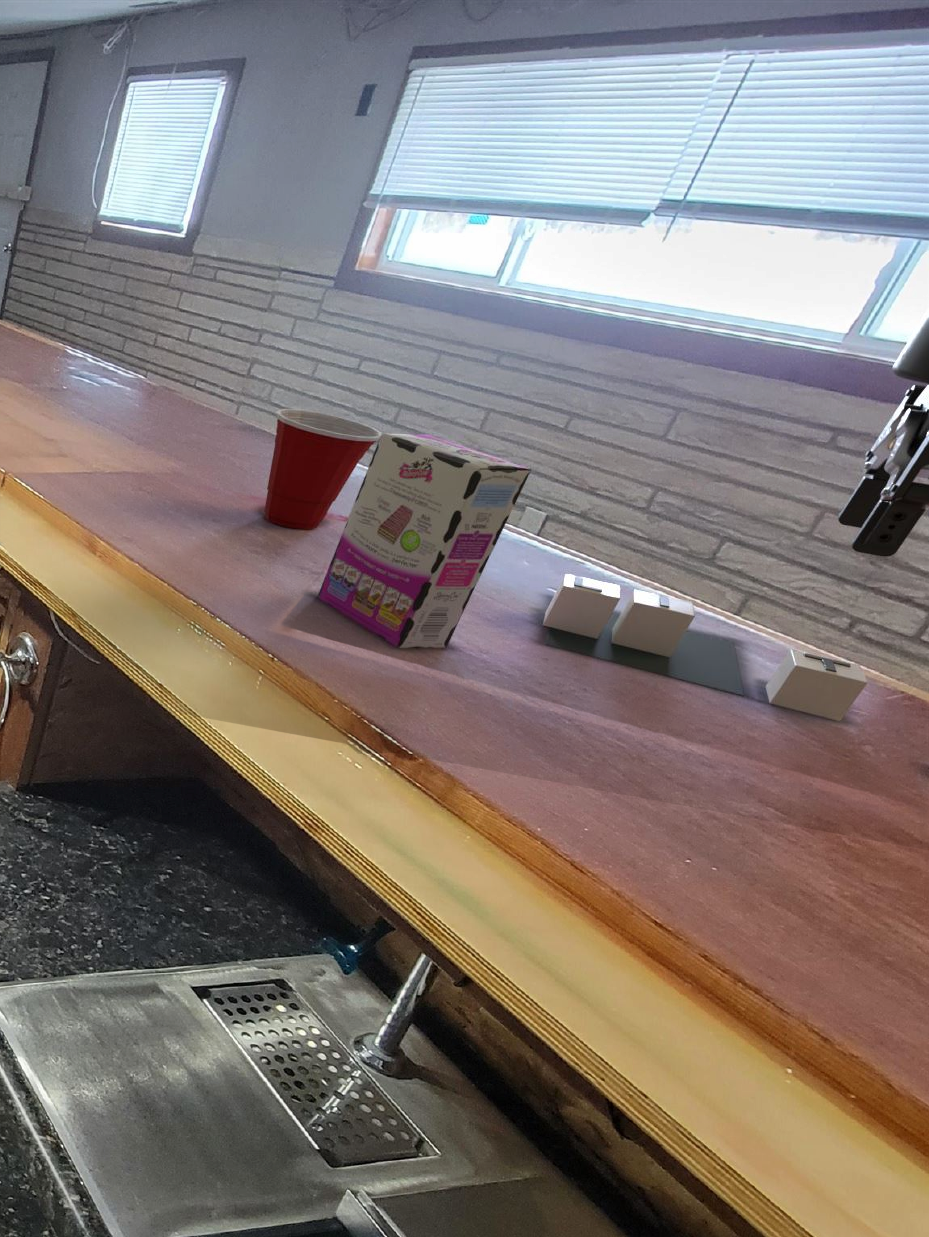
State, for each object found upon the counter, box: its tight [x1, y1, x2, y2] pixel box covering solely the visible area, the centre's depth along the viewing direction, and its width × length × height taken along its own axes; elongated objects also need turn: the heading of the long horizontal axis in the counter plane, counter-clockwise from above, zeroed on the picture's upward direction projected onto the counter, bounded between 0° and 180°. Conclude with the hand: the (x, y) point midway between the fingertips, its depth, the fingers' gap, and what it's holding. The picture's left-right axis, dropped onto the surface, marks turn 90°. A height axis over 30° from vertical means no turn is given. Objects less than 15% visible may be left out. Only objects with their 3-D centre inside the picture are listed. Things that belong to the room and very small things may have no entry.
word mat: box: [545, 612, 745, 697], centre depth 87 cm, size 13×14×1 cm
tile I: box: [611, 588, 696, 657], centre depth 86 cm, size 4×4×4 cm
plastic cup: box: [263, 408, 383, 530], centre depth 112 cm, size 11×11×12 cm
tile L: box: [542, 573, 622, 639], centre depth 89 cm, size 4×4×4 cm
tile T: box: [765, 648, 869, 722], centre depth 78 cm, size 4×4×4 cm
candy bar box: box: [317, 433, 533, 649], centre depth 86 cm, size 11×5×16 cm, turn 6°
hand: (861, 539), depth 74 cm, fingers open, 8 cm apart
